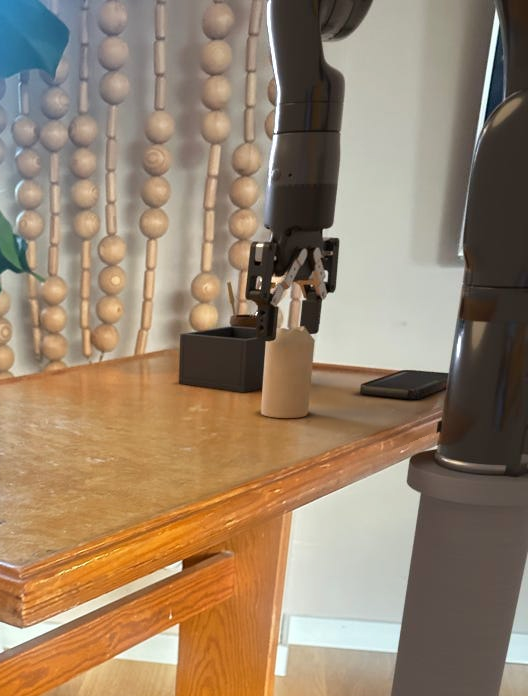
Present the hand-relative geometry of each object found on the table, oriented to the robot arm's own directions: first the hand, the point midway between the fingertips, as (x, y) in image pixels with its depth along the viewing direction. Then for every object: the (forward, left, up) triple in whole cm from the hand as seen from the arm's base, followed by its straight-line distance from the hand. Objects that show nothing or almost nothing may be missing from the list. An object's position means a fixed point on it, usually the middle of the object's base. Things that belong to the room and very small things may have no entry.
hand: (287, 337), depth 107 cm
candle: (0, 0, -9) cm, 9 cm away
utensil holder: (+29, -30, -9) cm, 43 cm away
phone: (-3, -24, -9) cm, 26 cm away
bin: (+18, -14, -9) cm, 24 cm away
